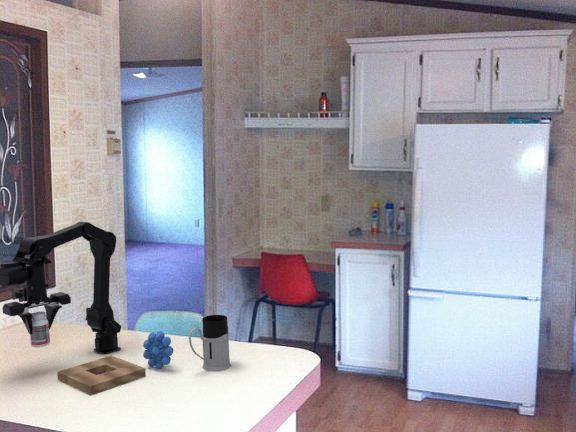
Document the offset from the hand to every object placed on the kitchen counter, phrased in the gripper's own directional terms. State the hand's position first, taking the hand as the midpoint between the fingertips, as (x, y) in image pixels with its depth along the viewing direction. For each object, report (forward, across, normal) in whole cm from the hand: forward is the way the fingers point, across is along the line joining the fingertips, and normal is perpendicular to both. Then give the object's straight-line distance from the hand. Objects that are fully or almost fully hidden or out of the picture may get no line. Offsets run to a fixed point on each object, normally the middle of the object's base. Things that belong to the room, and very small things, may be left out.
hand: (39, 331), depth 196 cm
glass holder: (+13, -34, +37) cm, 52 cm away
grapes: (+13, -25, +25) cm, 38 cm away
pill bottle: (+4, 0, 0) cm, 4 cm away
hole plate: (+13, -9, +18) cm, 24 cm away
